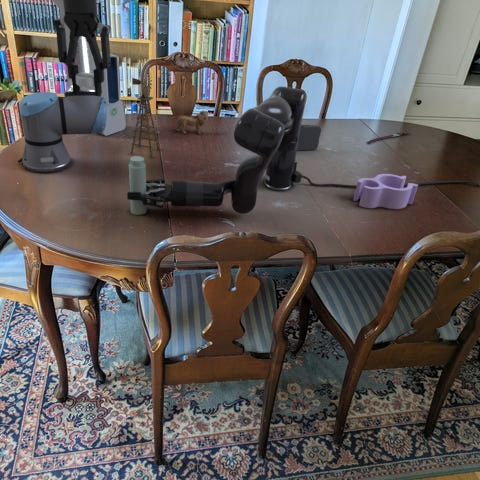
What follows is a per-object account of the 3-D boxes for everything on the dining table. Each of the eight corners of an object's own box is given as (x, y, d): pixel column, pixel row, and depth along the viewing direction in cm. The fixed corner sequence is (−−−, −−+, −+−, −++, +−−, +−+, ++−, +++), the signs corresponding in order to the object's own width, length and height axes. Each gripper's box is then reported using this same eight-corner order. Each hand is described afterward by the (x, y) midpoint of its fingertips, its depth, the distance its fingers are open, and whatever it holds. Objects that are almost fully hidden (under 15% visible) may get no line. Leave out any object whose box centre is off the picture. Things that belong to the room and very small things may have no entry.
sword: (405, 131, 223) (406, 129, 223) (410, 133, 221) (411, 131, 221) (362, 143, 208) (363, 140, 207) (367, 145, 206) (368, 143, 205)
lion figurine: (205, 129, 202) (206, 108, 197) (209, 133, 198) (210, 112, 193) (172, 130, 197) (172, 109, 192) (175, 135, 193) (175, 113, 188)
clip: (366, 212, 151) (371, 193, 147) (347, 194, 161) (351, 176, 157) (417, 207, 158) (423, 188, 154) (395, 190, 167) (401, 172, 163)
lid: (90, 79, 124) (89, 71, 123) (101, 85, 121) (101, 76, 120) (72, 82, 120) (71, 74, 119) (83, 88, 118) (82, 79, 116)
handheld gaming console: (315, 147, 196) (319, 124, 190) (317, 149, 194) (322, 126, 188) (264, 149, 189) (267, 125, 183) (266, 152, 187) (269, 127, 181)
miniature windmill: (151, 157, 172) (150, 74, 155) (129, 154, 173) (126, 70, 156) (160, 149, 179) (159, 68, 163) (139, 145, 180) (137, 64, 164)
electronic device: (104, 136, 184) (98, 57, 168) (90, 131, 187) (84, 53, 171) (126, 129, 193) (123, 53, 177) (113, 124, 196) (109, 49, 180)
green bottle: (142, 216, 137) (141, 163, 128) (128, 213, 137) (125, 160, 128) (149, 208, 140) (148, 157, 131) (134, 206, 141) (132, 154, 132)
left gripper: (33, -10, 106) (47, 92, 119) (111, 0, 106) (116, 102, 119) (48, -13, 113) (60, 84, 126) (122, -3, 112) (126, 93, 125)
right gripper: (187, 171, 141) (130, 169, 139) (188, 193, 129) (125, 191, 127) (187, 193, 145) (131, 191, 143) (187, 217, 133) (126, 215, 131)
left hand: (87, 93), depth 122 cm, fingers closed on lid, 5 cm apart
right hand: (128, 191), depth 135 cm, fingers closed on green bottle, 4 cm apart
